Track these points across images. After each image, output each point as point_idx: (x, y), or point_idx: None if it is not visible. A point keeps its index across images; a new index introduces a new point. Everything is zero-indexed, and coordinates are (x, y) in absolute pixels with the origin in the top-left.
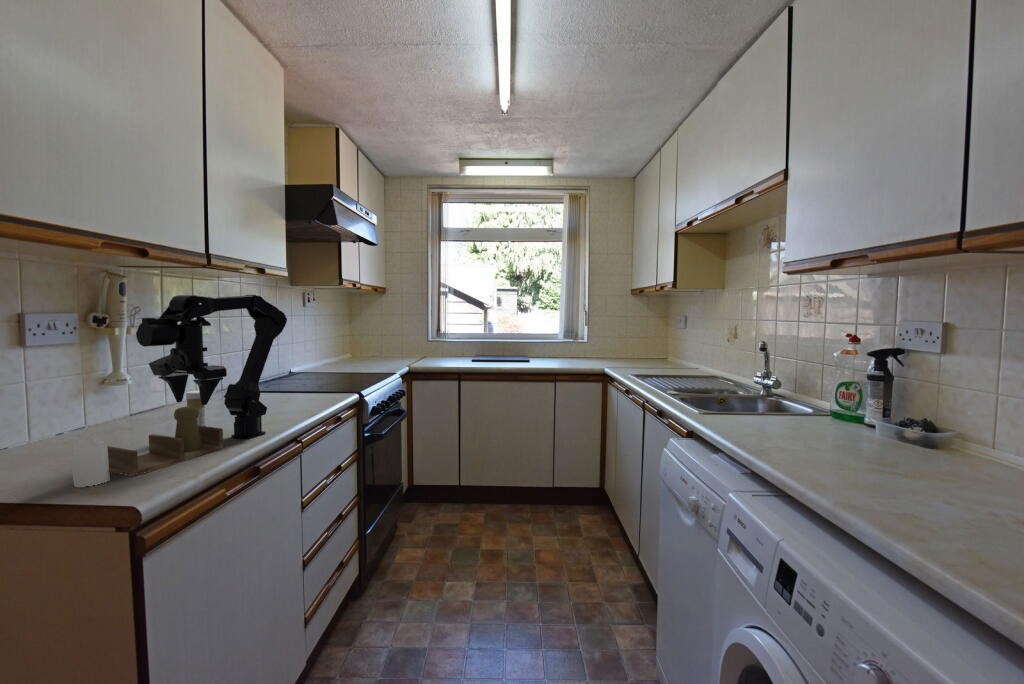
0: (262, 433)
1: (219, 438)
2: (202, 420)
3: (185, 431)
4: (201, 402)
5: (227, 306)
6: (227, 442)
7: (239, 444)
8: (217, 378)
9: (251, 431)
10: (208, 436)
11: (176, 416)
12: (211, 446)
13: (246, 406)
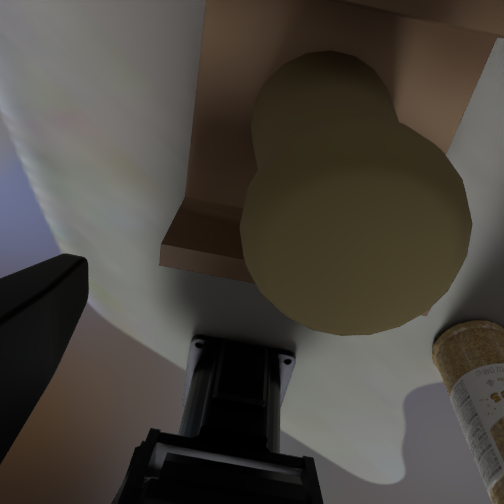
0: (184, 392)
1: (176, 217)
2: (463, 412)
3: (291, 108)
4: (58, 267)
5: None
6: (250, 290)
7: (169, 272)
8: None
9: (195, 378)
10: None
11: (382, 122)
12: (221, 184)
13: (137, 485)
